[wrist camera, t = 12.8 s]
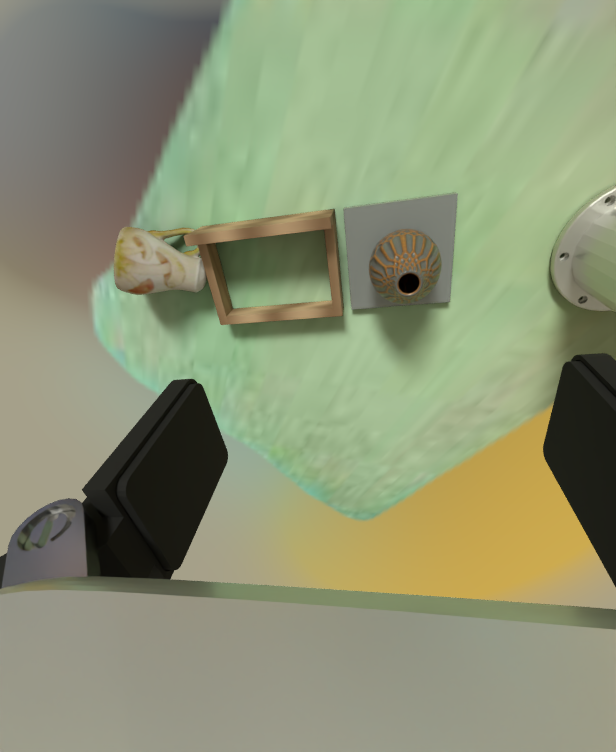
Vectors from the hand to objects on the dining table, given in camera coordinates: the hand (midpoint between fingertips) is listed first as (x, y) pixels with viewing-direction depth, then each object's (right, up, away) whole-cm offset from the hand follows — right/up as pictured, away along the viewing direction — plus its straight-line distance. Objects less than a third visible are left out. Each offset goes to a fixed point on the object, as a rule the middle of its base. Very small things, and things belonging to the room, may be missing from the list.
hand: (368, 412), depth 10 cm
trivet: (+8, +14, +29) cm, 34 cm away
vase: (+8, +14, +29) cm, 33 cm away
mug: (-18, +15, +33) cm, 41 cm away
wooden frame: (-5, +14, +32) cm, 35 cm away
